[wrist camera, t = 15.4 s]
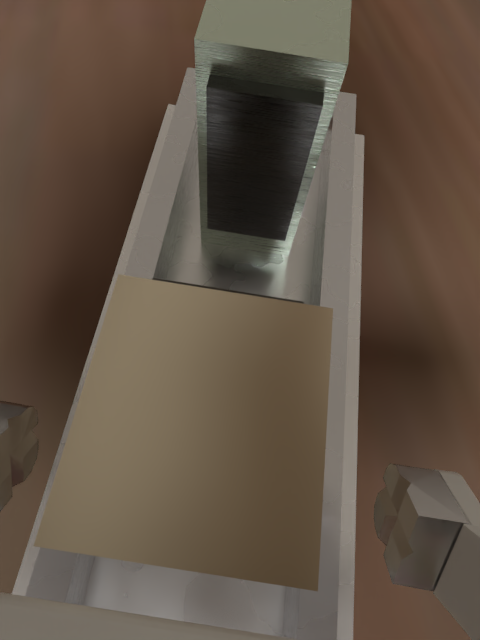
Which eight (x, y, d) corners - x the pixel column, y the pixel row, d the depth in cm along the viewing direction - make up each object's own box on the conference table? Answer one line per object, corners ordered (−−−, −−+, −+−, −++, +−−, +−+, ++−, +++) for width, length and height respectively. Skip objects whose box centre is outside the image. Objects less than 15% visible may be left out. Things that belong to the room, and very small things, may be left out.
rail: (-7, 684, 14) (-526, 1103, 4) (169, 118, 26) (144, -127, 16) (341, 739, 14) (657, 1289, 4) (358, 148, 26) (452, -78, 16)
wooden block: (136, 525, 16) (32, 546, 6) (168, 382, 18) (126, 250, 9) (254, 543, 16) (317, 591, 6) (271, 398, 18) (334, 283, 9)
